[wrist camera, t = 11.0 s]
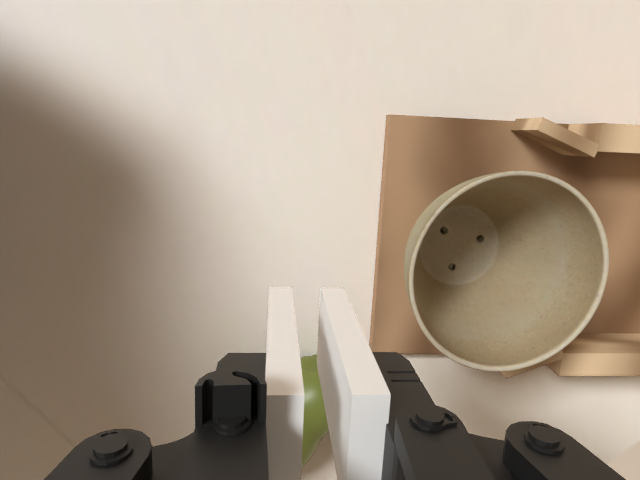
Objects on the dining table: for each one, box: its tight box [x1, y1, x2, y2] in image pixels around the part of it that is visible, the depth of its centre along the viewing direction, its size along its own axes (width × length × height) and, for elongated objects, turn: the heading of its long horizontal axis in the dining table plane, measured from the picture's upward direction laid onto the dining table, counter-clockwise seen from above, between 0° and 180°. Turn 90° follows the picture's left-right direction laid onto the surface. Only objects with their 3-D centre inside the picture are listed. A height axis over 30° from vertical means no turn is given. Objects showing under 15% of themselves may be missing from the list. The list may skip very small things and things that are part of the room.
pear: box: [301, 355, 329, 468], centre depth 30 cm, size 6×5×10 cm
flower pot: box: [404, 171, 609, 372], centre depth 26 cm, size 10×10×7 cm
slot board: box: [369, 115, 640, 378], centre depth 29 cm, size 22×15×4 cm
